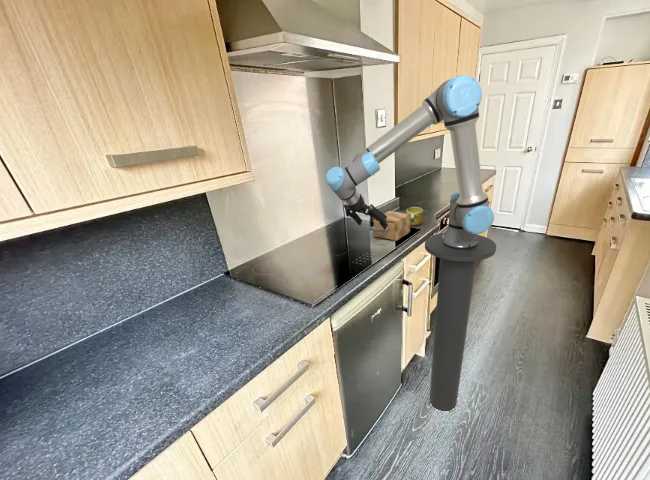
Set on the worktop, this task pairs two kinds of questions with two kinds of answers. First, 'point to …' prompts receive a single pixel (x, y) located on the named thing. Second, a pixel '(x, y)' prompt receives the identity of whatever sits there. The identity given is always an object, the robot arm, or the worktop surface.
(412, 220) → the mug
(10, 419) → the worktop surface
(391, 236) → the drawer
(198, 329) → the worktop surface
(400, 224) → the cabinet
